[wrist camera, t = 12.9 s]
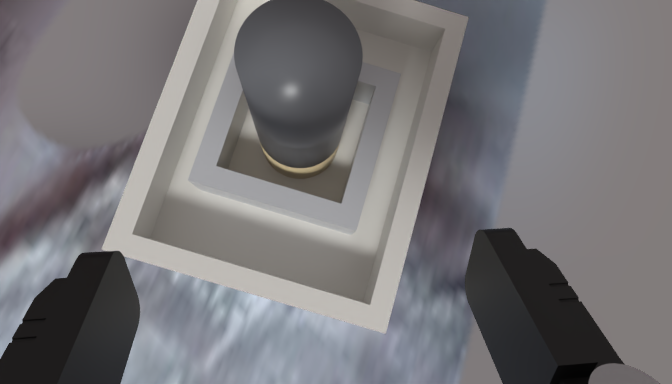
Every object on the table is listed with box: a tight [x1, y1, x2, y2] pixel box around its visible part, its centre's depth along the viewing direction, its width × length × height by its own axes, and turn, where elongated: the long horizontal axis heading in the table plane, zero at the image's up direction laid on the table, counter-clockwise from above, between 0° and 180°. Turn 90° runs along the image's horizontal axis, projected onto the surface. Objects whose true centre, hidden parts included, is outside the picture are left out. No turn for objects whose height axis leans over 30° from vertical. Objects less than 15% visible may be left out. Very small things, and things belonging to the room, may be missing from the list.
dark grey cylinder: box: [234, 0, 363, 179], centre depth 19 cm, size 4×4×10 cm
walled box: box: [102, 0, 469, 334], centre depth 24 cm, size 13×16×4 cm
